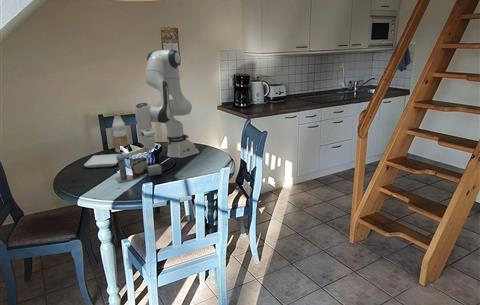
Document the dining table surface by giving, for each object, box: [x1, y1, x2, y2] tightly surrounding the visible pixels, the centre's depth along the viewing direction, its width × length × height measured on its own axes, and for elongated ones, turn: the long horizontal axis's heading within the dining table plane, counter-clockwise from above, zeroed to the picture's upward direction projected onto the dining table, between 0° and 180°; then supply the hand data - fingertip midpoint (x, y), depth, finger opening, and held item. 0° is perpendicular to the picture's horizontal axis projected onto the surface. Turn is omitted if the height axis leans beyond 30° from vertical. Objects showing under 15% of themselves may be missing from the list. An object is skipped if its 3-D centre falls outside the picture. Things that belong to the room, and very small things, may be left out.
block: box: [146, 163, 163, 177], centre depth 226 cm, size 8×5×5 cm, turn 119°
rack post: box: [115, 159, 133, 184], centre depth 217 cm, size 8×8×13 cm
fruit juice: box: [111, 112, 129, 153], centre depth 272 cm, size 9×9×28 cm
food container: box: [129, 157, 148, 179], centre depth 224 cm, size 12×6×10 cm, turn 149°
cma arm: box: [116, 146, 153, 160], centre depth 223 cm, size 24×6×2 cm, turn 145°
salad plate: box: [83, 153, 121, 169], centre depth 250 cm, size 21×21×3 cm
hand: (147, 152), depth 226 cm, fingers closed
